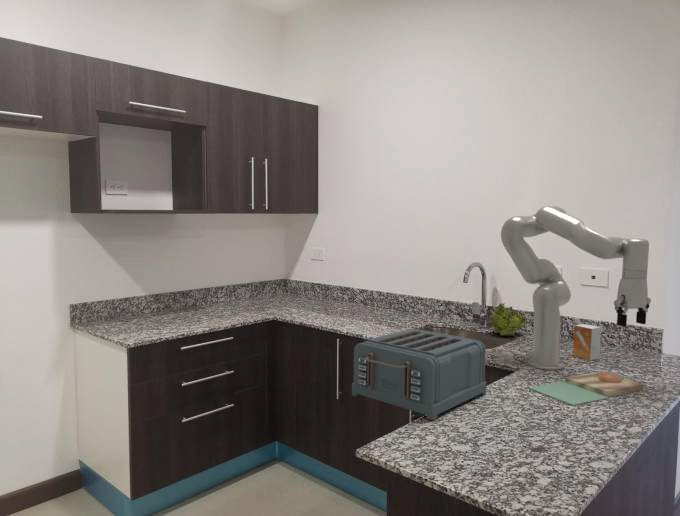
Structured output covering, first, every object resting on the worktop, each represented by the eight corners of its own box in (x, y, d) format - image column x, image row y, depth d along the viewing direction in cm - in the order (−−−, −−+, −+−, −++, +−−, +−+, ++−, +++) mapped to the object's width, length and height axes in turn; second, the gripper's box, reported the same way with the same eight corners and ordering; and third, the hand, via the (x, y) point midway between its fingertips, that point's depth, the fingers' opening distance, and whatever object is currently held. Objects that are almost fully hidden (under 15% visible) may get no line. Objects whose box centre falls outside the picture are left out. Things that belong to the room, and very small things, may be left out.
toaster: (341, 398, 170) (342, 342, 169) (408, 374, 197) (410, 325, 195) (424, 424, 150) (425, 361, 148) (486, 393, 176) (488, 339, 175)
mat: (528, 388, 181) (528, 387, 181) (562, 382, 188) (562, 381, 188) (573, 405, 165) (573, 404, 165) (608, 398, 172) (608, 397, 172)
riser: (565, 383, 187) (565, 377, 187) (600, 376, 195) (601, 371, 195) (606, 397, 173) (606, 391, 173) (642, 389, 181) (643, 384, 181)
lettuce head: (521, 342, 247) (522, 307, 246) (486, 338, 254) (487, 304, 253) (527, 334, 263) (528, 301, 262) (494, 331, 270) (495, 299, 269)
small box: (572, 356, 224) (573, 324, 222) (582, 354, 227) (583, 323, 226) (590, 360, 217) (591, 328, 216) (600, 358, 220) (601, 327, 219)
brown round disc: (593, 378, 187) (593, 373, 186) (607, 375, 190) (607, 371, 190) (612, 383, 180) (612, 379, 180) (625, 381, 183) (626, 376, 183)
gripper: (641, 272, 192) (638, 320, 194) (607, 274, 185) (604, 324, 186) (661, 275, 185) (658, 324, 187) (627, 277, 178) (623, 328, 179)
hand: (631, 324), depth 187 cm, fingers open, 9 cm apart
